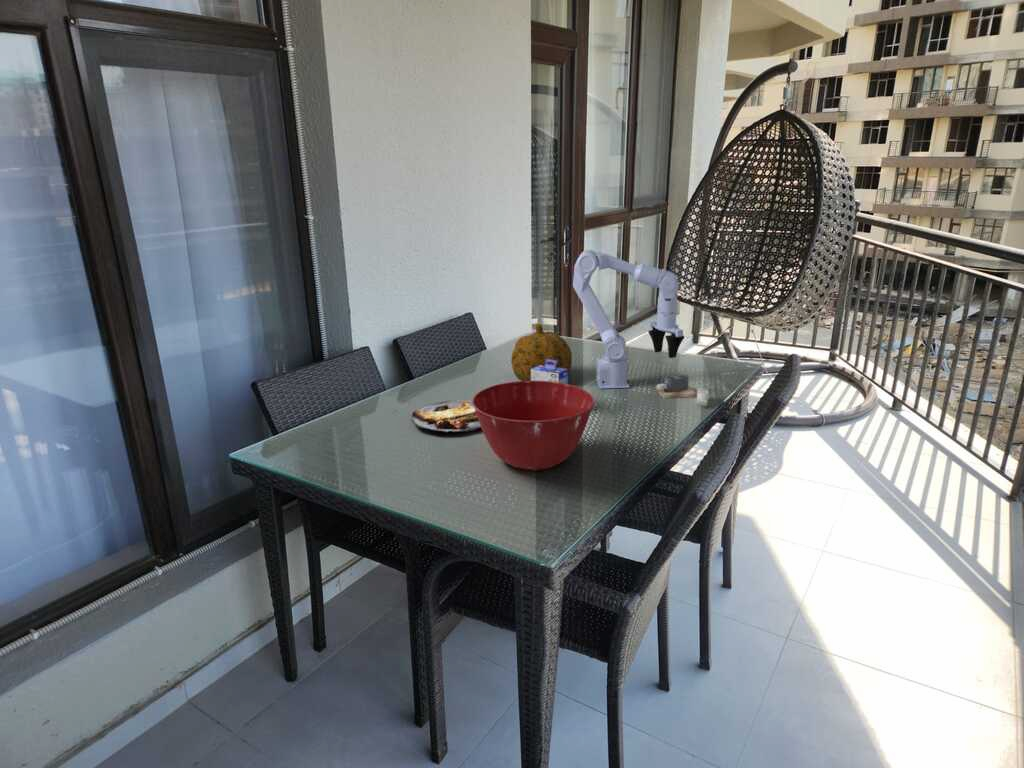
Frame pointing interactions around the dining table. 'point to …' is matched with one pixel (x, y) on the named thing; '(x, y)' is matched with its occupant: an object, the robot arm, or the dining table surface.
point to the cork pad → (677, 393)
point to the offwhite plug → (702, 397)
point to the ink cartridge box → (549, 373)
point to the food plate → (447, 416)
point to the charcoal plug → (674, 383)
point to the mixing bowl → (533, 421)
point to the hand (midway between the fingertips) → (665, 354)
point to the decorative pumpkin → (539, 352)
